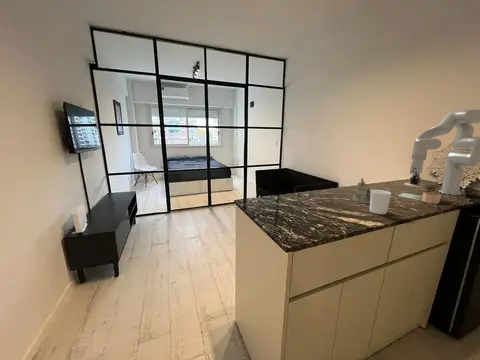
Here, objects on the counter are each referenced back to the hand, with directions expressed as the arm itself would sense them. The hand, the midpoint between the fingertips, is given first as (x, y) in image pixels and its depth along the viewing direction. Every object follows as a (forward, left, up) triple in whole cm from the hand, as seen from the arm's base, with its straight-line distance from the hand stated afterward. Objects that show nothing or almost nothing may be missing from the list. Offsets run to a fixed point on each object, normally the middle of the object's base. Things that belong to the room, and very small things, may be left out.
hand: (414, 183), depth 145 cm
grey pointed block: (+34, -17, -11) cm, 40 cm away
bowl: (+6, +11, -10) cm, 16 cm away
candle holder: (+52, -4, -11) cm, 53 cm away
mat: (+1, 0, -10) cm, 10 cm away
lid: (0, 0, -2) cm, 2 cm away
